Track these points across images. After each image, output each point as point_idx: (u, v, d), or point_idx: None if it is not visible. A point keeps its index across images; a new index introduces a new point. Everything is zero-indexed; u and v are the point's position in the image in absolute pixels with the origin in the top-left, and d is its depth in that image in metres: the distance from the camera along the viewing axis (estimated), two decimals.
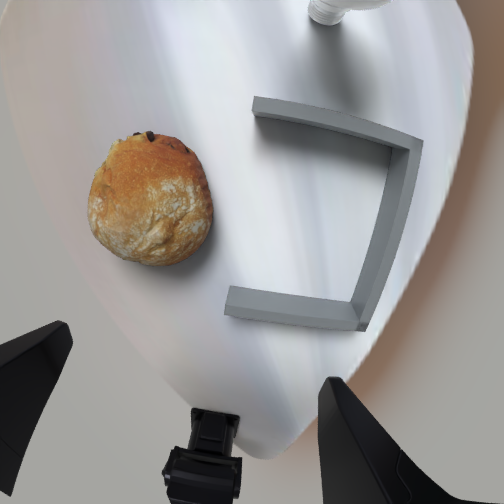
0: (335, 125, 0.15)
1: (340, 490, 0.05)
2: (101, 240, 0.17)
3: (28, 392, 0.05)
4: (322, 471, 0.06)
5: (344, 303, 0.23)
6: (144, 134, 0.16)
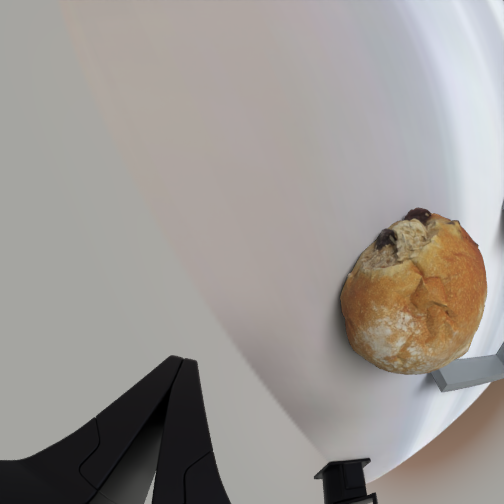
0: None
1: None
2: (394, 365, 0.12)
3: (149, 447, 0.05)
4: None
5: (494, 356, 0.18)
6: (459, 227, 0.11)
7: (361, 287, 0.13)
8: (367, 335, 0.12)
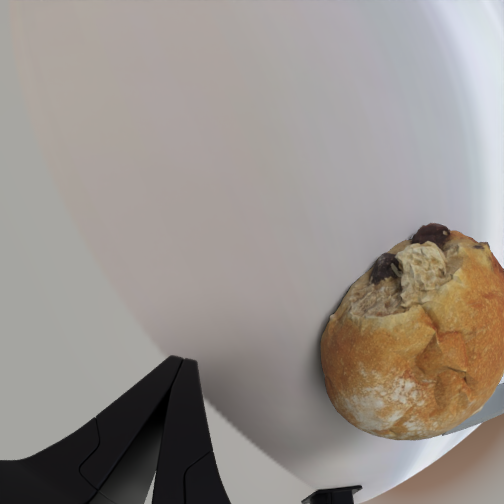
0: None
1: None
2: (385, 436, 0.08)
3: (149, 446, 0.05)
4: None
5: (503, 385, 0.14)
6: (489, 252, 0.07)
7: (346, 339, 0.09)
8: (350, 404, 0.08)
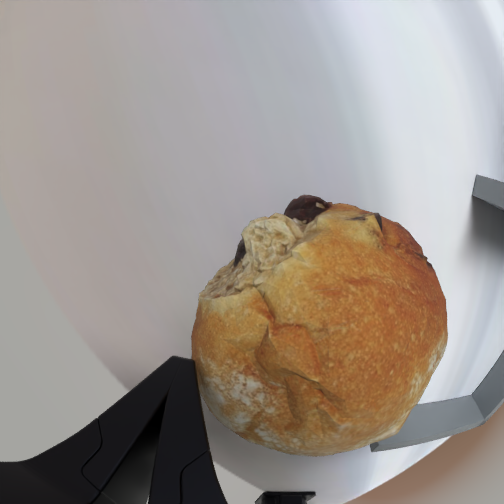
0: None
1: None
2: (252, 441, 0.07)
3: (151, 447, 0.05)
4: None
5: (468, 398, 0.14)
6: (374, 224, 0.07)
7: (196, 323, 0.09)
8: (202, 394, 0.08)
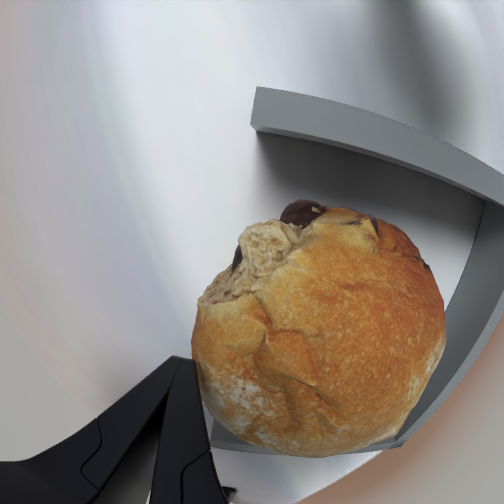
0: (438, 171, 0.06)
1: None
2: (252, 443, 0.08)
3: None
4: None
5: None
6: (370, 229, 0.07)
7: (196, 328, 0.09)
8: (202, 398, 0.08)
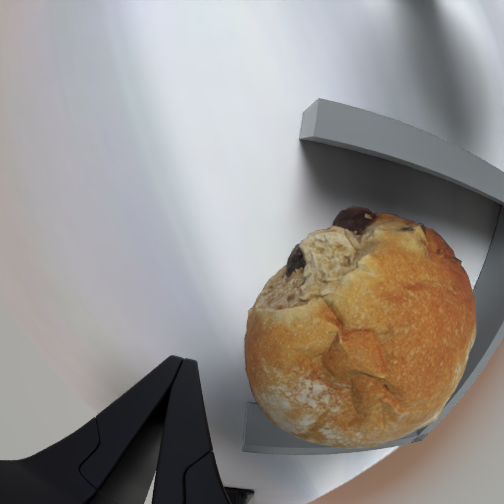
0: (471, 184, 0.06)
1: None
2: None
3: (149, 446, 0.05)
4: None
5: None
6: (421, 234, 0.07)
7: (254, 334, 0.09)
8: (262, 402, 0.08)
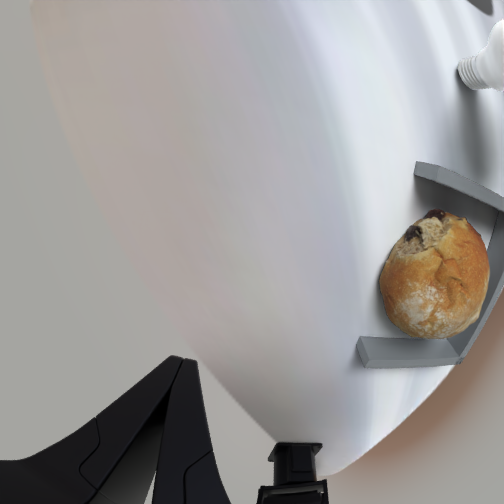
0: (485, 201, 0.13)
1: None
2: (425, 328, 0.15)
3: (149, 447, 0.05)
4: None
5: (444, 340, 0.21)
6: (466, 222, 0.14)
7: (398, 269, 0.16)
8: (405, 305, 0.15)
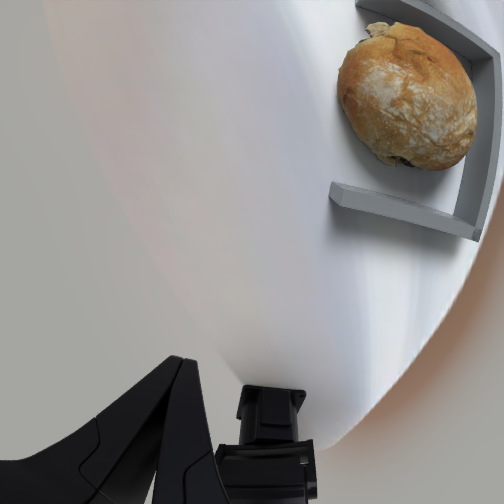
0: (438, 19, 0.09)
1: None
2: (404, 113, 0.10)
3: (149, 446, 0.05)
4: None
5: (449, 214, 0.17)
6: (419, 28, 0.10)
7: (350, 61, 0.12)
8: (366, 85, 0.11)
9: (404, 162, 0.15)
